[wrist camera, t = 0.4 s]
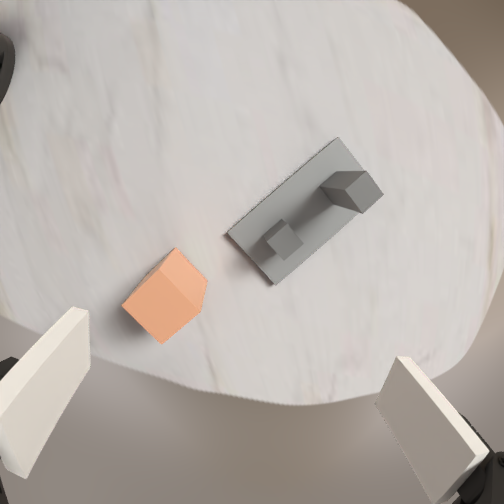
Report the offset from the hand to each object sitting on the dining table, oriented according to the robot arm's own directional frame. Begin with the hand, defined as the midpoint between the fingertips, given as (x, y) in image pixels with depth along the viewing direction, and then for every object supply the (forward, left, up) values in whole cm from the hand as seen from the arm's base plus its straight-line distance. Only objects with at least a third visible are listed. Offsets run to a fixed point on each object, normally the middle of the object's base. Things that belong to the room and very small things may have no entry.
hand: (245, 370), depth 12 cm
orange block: (-2, -8, -24) cm, 25 cm away
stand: (+2, +8, -24) cm, 25 cm away
